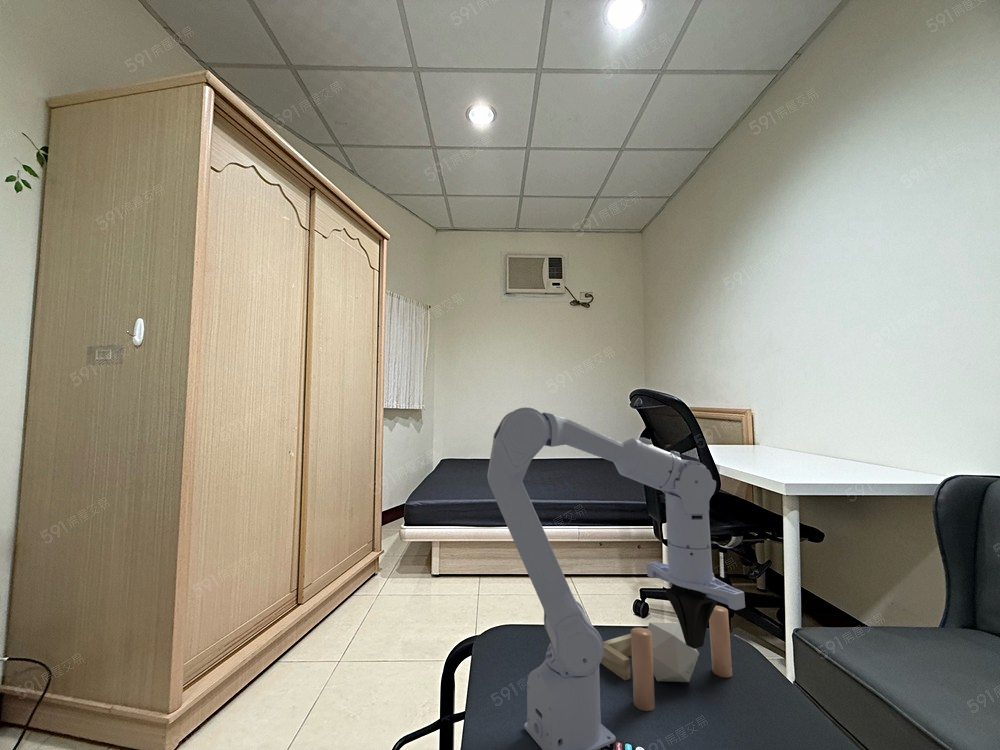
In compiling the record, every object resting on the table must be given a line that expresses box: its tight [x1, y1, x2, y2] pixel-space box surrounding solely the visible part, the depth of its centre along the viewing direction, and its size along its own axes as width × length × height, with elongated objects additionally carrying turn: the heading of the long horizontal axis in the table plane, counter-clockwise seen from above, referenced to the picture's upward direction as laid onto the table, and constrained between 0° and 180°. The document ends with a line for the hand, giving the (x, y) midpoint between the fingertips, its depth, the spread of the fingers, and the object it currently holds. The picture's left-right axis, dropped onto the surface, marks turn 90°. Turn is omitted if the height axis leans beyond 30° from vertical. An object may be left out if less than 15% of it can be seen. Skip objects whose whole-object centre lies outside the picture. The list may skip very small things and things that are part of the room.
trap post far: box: [708, 605, 733, 679], centre depth 71 cm, size 3×3×10 cm
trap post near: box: [630, 626, 656, 712], centre depth 63 cm, size 3×3×10 cm
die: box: [646, 622, 700, 683], centre depth 70 cm, size 8×9×10 cm
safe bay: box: [600, 632, 632, 681], centre depth 74 cm, size 14×6×3 cm, turn 118°
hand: (694, 645), depth 59 cm, fingers closed
